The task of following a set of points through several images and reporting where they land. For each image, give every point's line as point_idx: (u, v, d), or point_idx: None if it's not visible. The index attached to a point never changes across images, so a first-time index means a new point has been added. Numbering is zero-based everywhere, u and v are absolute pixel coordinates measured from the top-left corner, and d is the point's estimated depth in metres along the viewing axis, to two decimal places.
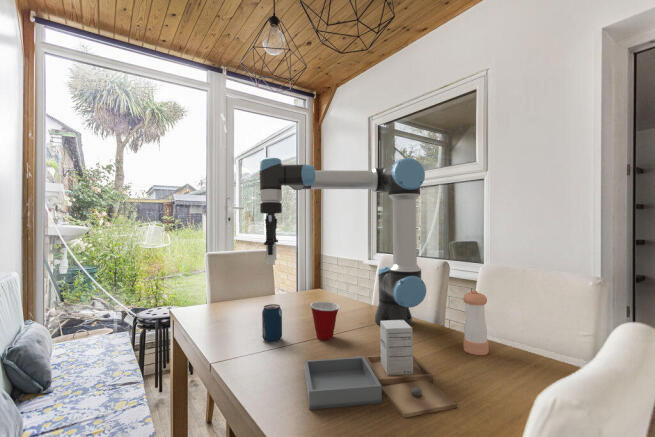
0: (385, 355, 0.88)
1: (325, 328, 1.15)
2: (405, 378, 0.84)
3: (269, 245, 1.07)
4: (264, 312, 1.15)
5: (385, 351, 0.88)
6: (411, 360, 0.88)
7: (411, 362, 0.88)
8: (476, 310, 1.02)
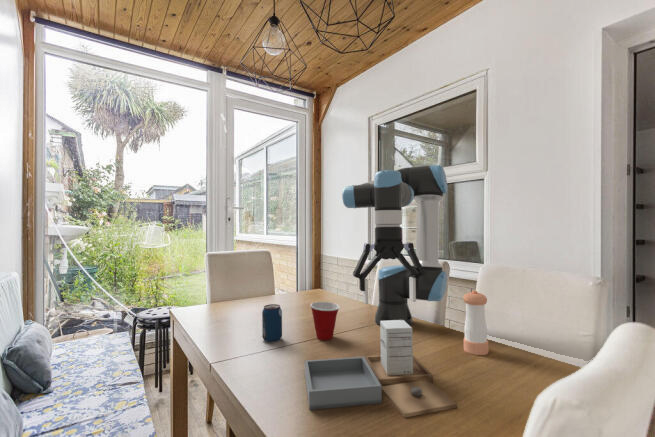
0: (385, 355, 0.88)
1: (325, 328, 1.15)
2: (405, 378, 0.84)
3: (359, 279, 0.91)
4: (264, 312, 1.15)
5: (385, 351, 0.88)
6: (411, 360, 0.88)
7: (411, 362, 0.88)
8: (476, 310, 1.02)
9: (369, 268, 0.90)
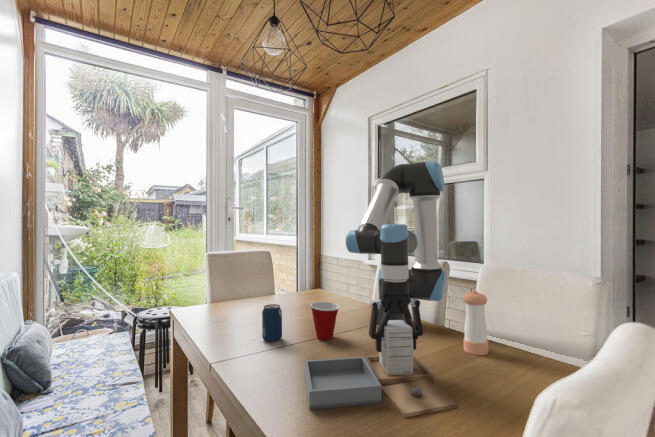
0: (385, 355, 0.88)
1: (325, 328, 1.15)
2: (405, 378, 0.84)
3: None
4: (264, 312, 1.15)
5: (385, 351, 0.88)
6: (411, 360, 0.88)
7: (411, 362, 0.88)
8: (476, 310, 1.02)
9: (382, 327, 0.89)
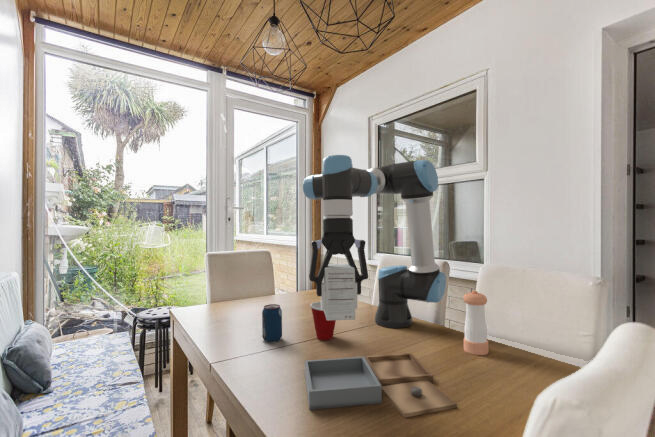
0: (325, 299, 0.80)
1: (325, 328, 1.15)
2: (405, 378, 0.84)
3: (316, 283, 0.82)
4: (264, 312, 1.15)
5: (325, 294, 0.80)
6: (353, 304, 0.79)
7: (353, 306, 0.79)
8: (476, 310, 1.02)
9: (323, 269, 0.81)
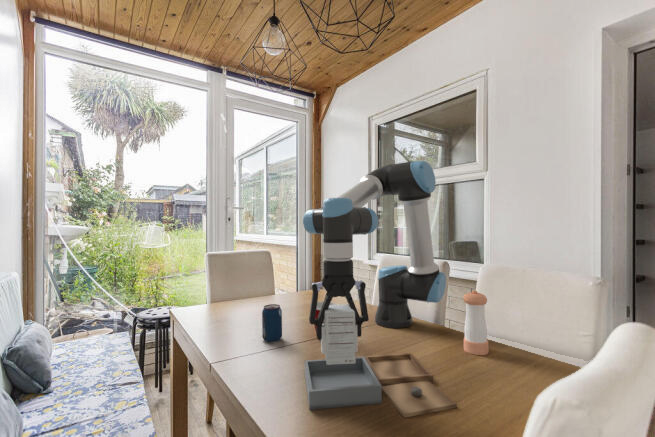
0: (325, 342, 0.80)
1: None
2: (405, 378, 0.84)
3: (316, 325, 0.82)
4: (264, 312, 1.15)
5: (325, 338, 0.79)
6: (353, 348, 0.79)
7: (353, 350, 0.79)
8: (476, 310, 1.02)
9: (323, 312, 0.81)
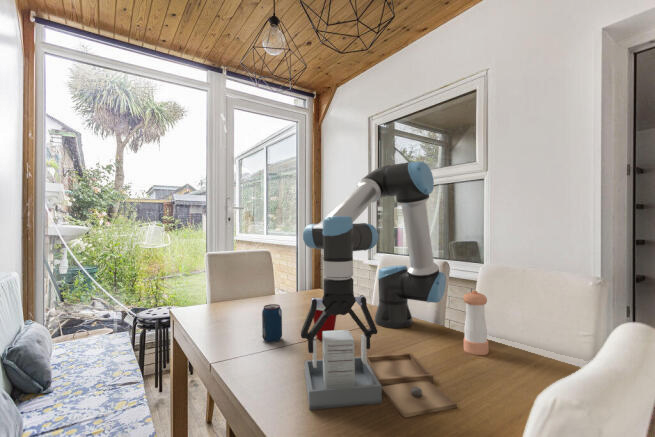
0: (324, 370, 0.79)
1: (325, 328, 1.15)
2: (405, 378, 0.84)
3: None
4: (264, 312, 1.15)
5: (324, 366, 0.79)
6: (353, 375, 0.79)
7: (353, 378, 0.79)
8: (476, 310, 1.02)
9: (317, 327, 0.80)
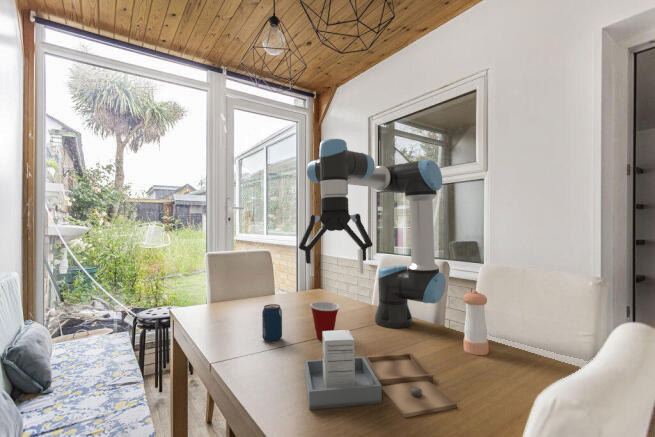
0: (324, 370, 0.79)
1: (325, 328, 1.15)
2: (405, 378, 0.84)
3: (305, 251, 0.89)
4: (264, 312, 1.15)
5: (324, 366, 0.79)
6: (353, 375, 0.79)
7: (353, 378, 0.79)
8: (476, 310, 1.02)
9: (314, 240, 0.88)
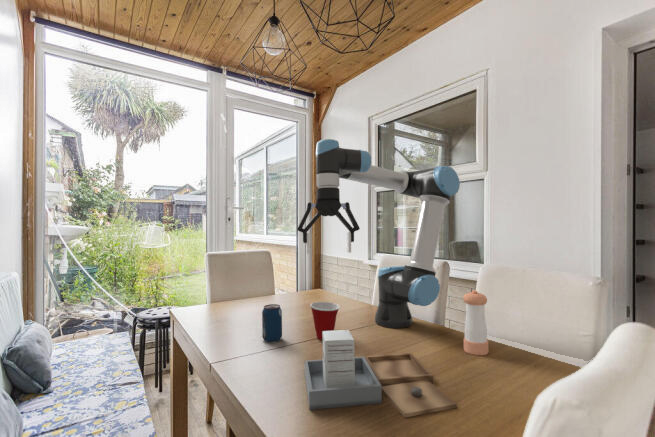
0: (324, 370, 0.79)
1: (325, 328, 1.15)
2: (405, 378, 0.84)
3: None
4: (264, 312, 1.15)
5: (324, 366, 0.79)
6: (353, 375, 0.79)
7: (353, 378, 0.79)
8: (476, 310, 1.02)
9: (310, 223, 1.05)
